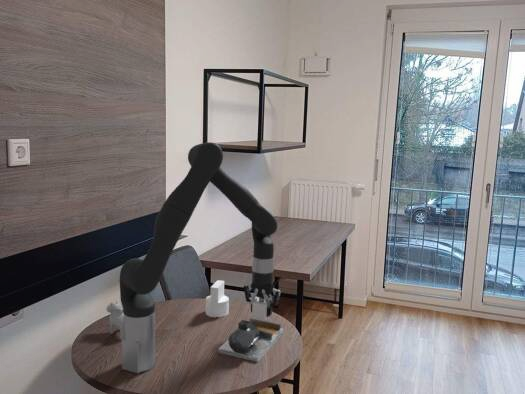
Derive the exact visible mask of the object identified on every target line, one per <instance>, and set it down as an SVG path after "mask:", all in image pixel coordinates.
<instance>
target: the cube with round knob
mask: <svg viewBox="0 0 525 394" xmlns="http://www.w3.org/2000/svg"><path fill="white" fill-rule="evenodd" d="M270 317H271V315H270V316H269V317H267V303H266V302H265V299H264V298H262V297H258V298H257V300H255V301H254V302H252V312H251V318H252V319H257V320H262V321H268V319H269V318H270Z"/></svg>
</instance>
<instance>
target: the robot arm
mask: <svg viewBox="0 0 525 394" xmlns="http://www.w3.org/2000/svg"><path fill="white" fill-rule="evenodd" d="M223 160H224V152H223V150H222V148H221V146H220V145H219V144H217V143H215V142H210V141H209V142H203V143H198V144H195V145H194V146H192V147H191V148H190V149H189V151H188V154H187V161H188V163H189V165H190V166H191V167H190V168H189V170H188V172H187V174H186V176H185V177H184V179H183V180H182V181H181V182H180V183H179V184H178V185H177V186H176V187H175V188H174V190H172V192H171V193H170V194H169V195H168V197H167V198H166V200H165V201H164V203H163V204H162V206H161V207H160V210H159V212H158V214H157V216H156V218H155V223H154V231H153V236H152V237H153V239H152V243H151V245H150V248H149V250H148V252H147V253H146V255H145V256H144V258H143V259H141V258H138V257H133V258H129V259H128V260H126V261H125V262H124V263H123V264H122V266H121V267H120V268H121V269H120V272H119V294H120V296H119V297H120V304H121V307H122V312H123V314H124V337H123V339H122V340H121V370H125V371H128V372H132V373H133V374H134V373H135V374H140V373H141V372H147V371H149V370H151V369H152V368H154V366H155V365H156V362H155V361H156V357H155V356H156V355H155V353H156V350H155V348H156V346H155V345H156V344H155V341H156V334H155V333H156V329H155V328H156V324H155V323H156V322H155V321H156V318H155V317H156V313H155V312H156V311H155V310H156V309H155V308H156V304H155V301H154V299H153V298H152V297H151V294H150V293H152V292H153V291H154V290H155V289H156V288H157V286H158V285H159V282H160V281H161V278H162V276H163V274H164V271H165V269H166V266H167V264H168V262H169V259H170V258H171V255H172V252H173V251H174V249H175V247H176V245H177V243H178V241H179V239H180V237H181V235H182V234H183V232H184V230H185V228H186V226H187V225H188V223H189V221H190V219H191V217H192V216H193V213H194V211H195V210H196V207H197V205H198V203H199V202H200V200H201V198H202V196H203V194H204V192H205V190H206V188H207V186H208V185H209V183H211V184H212V186H215V188H217V189H218V190H219V191H220V192H221V194H223V196H225V198H226V199H227V200H229V201H230V203H232V205H233V206H234V207H235V208H236V209H237V211H239V213H241V214H242V215H243V217H245V218H247V219H248V220H249V221H250V222H251V234H252V240H253V255H252V256H253V257H252V265H251V266H252V267H251V268H252V269H251V284H250V283H246V284H245V285H243V292H244V298H245V301H246V302H247V303H248V302H249V303H250V313H252V302H254V301H255V300H257V298H259V297H262V298H264V299H265V302H266V303H267V317H269V316H270V317H271V316H272V315H273V308H275V307H276V306H277V305H278V304H279V300H280V297H281V293H282V290H281V289H276V288H275V287H274V272H275V271H274V270H275V269H274V268H275V264H274V263H275V262H274V248H275V247H274V245H275V244H274V242H273V241H272V238H271V235H273V234H275V233H276V231H277V229H278V221H277V219H276V218H275V216H274V215H273V214H272V213H271V212H270V211H269V210H267V208H265V207H264V206H263V205H262V204H261V203H260V202H259V201H258V199H257V198H256V197H255V196H254V195H253V194H252V192H251V191H250V190H249V189H248V188H246V186H245V185H243V184H242V183H241V182H240V181H238V180H237V179H235V178H234V177H233V176H231V175H230V174H229V173H227V172H226V170H225V169H224V168H223V167H222V164H223ZM251 291H252V292H253V295H252V292H251ZM272 293H273V296H274V297H273V300H272ZM270 317H269V318H270Z"/></svg>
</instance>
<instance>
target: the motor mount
mask: <svg viewBox="0 0 525 394" xmlns="http://www.w3.org/2000/svg"><path fill="white" fill-rule="evenodd" d="M237 324H238V328H236V329H235V330H234V331H233V332H232V333H231V334H230V335H229V337H228V339H227V340H226V341H225V342H224V343H223V344H222V345H220V346H219V348H218V354H223V355H227V356H232V357H236V358H240V359H245V360H247V361H252V362H256V363H258V362H259V361H260V360H261V359H262V358H263V357H264V355H266V353H267V352H268V351H269V350H270V349H271V348H272V347H273V346H274V344H275V343H276V342H277V341H278V340H279V339H278V338H280V337H281V336H283V334H284V331H285V330H284V328H282V324H281V323H277V322H273V321H268V320H266V321H262V320H257V319H252V317H250V318H249V321H248V320H246V319H245V320H244V319H242V320H241V321H239V322H238V323H237Z"/></svg>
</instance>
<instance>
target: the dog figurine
mask: <svg viewBox="0 0 525 394" xmlns="http://www.w3.org/2000/svg"><path fill="white" fill-rule="evenodd" d="M106 312H108V313H110V315H109V319H108V322H109V328H110V332H109V334H110V335H111V334H112V335H113V334H114V333H115V328H118V330H119V340H120V341H122V339H124V314H123V307H122V304H121V301H115V303H114V302H110V303H109V304H108V305H107V306H106Z"/></svg>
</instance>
